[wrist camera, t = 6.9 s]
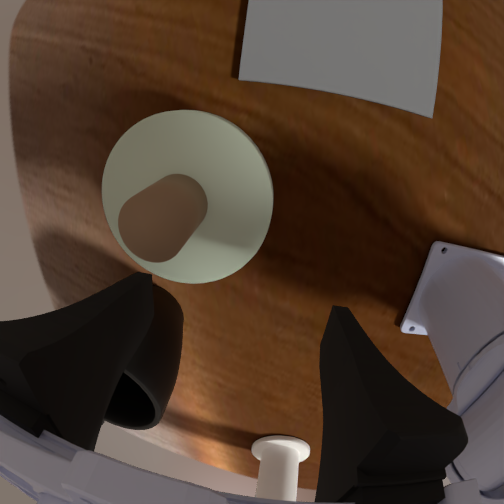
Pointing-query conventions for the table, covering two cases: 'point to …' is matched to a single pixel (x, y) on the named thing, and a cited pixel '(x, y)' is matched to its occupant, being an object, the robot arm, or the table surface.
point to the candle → (279, 466)
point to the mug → (150, 369)
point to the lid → (188, 195)
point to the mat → (347, 48)
